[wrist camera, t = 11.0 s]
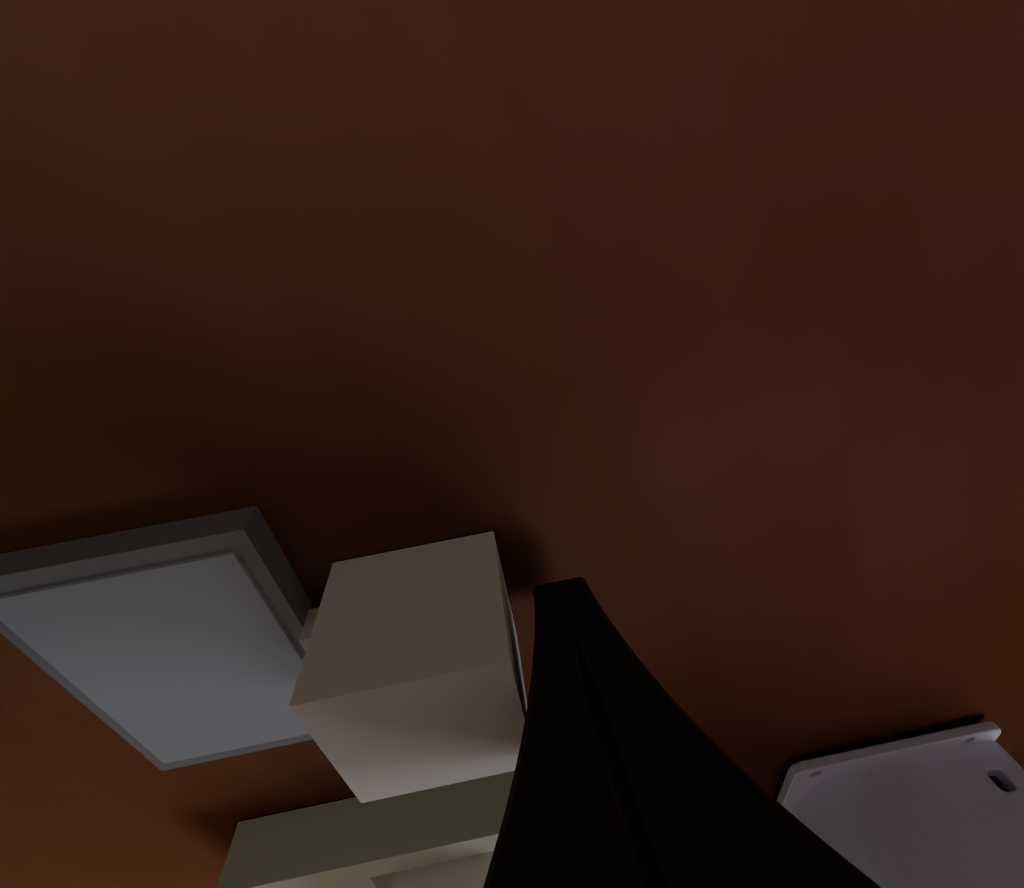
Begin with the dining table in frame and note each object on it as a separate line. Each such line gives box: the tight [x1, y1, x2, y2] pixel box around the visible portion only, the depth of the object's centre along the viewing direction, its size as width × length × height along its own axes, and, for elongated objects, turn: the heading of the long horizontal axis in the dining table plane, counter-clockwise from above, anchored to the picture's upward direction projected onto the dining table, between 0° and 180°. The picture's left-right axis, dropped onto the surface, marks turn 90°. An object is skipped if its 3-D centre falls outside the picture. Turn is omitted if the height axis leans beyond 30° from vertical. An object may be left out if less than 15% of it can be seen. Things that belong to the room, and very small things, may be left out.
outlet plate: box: [217, 771, 515, 888], centre depth 18 cm, size 12×9×2 cm
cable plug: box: [289, 531, 527, 803], centre depth 10 cm, size 5×4×4 cm
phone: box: [0, 506, 314, 771], centre depth 12 cm, size 6×8×1 cm
